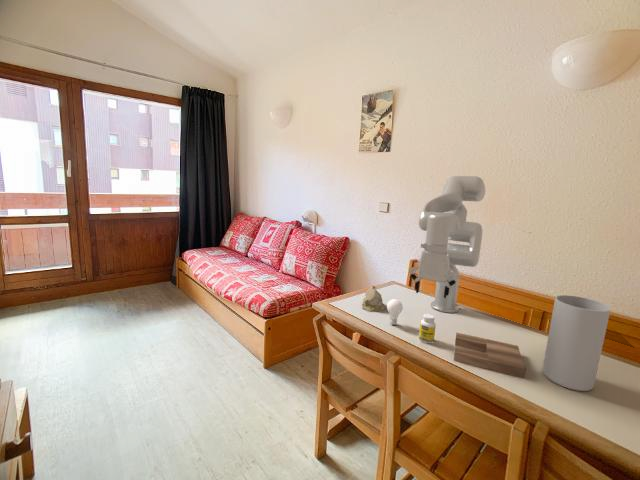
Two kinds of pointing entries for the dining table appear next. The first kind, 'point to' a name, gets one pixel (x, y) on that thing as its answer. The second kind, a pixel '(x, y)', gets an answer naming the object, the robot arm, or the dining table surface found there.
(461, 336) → the notched board
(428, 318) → the supplement bottle
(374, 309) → the ceramic model
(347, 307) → the dining table surface
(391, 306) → the lightbulb
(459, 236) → the robot arm
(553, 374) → the cylinder vase
